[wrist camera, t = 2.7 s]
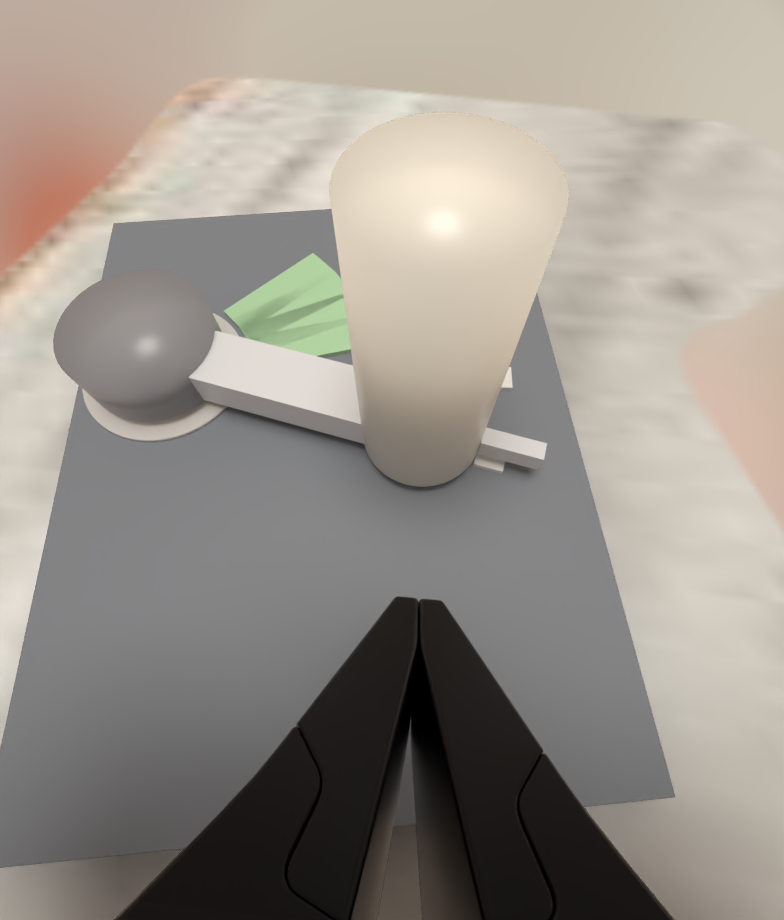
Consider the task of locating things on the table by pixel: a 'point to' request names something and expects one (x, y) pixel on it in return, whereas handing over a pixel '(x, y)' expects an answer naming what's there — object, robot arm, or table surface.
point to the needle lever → (363, 307)
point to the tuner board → (292, 576)
